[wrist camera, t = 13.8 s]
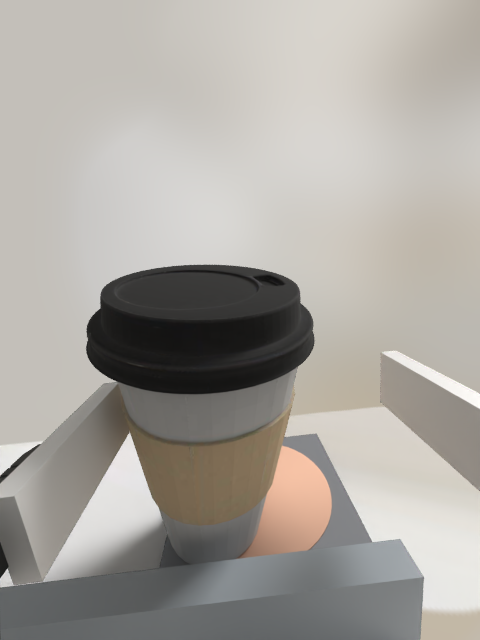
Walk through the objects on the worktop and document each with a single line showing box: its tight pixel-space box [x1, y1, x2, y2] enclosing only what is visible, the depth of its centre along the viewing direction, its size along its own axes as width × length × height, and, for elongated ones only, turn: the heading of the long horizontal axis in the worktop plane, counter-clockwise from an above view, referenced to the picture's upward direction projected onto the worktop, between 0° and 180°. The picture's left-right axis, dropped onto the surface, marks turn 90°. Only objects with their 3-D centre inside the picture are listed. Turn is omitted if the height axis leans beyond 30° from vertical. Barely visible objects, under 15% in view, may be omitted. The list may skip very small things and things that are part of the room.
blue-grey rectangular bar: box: [0, 539, 424, 640], centre depth 12 cm, size 20×2×4 cm, turn 92°
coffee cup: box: [86, 265, 314, 564], centre depth 14 cm, size 9×9×15 cm
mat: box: [160, 434, 372, 568], centre depth 19 cm, size 12×11×1 cm
